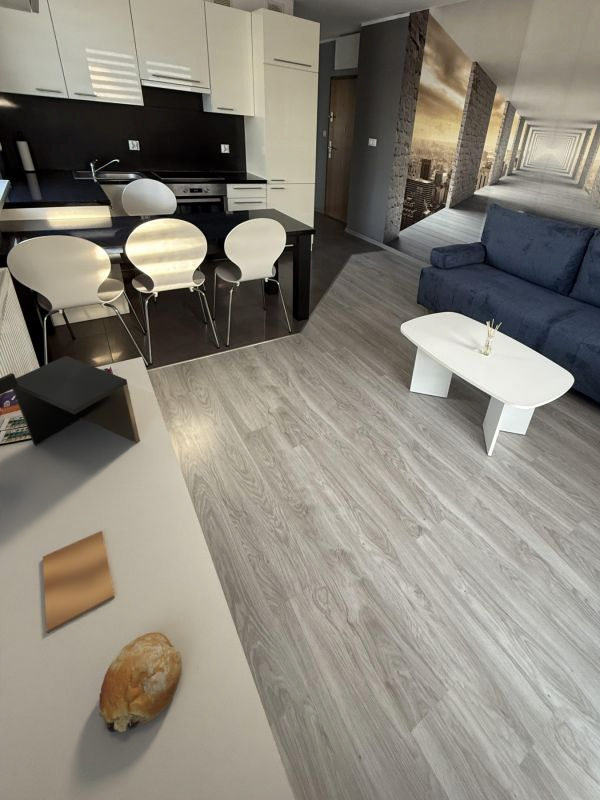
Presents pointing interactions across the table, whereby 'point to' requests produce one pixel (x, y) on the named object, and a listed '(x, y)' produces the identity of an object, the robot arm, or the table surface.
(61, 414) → the dark grey side table
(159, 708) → the bread roll
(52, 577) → the mat
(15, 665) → the table surface
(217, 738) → the table surface
